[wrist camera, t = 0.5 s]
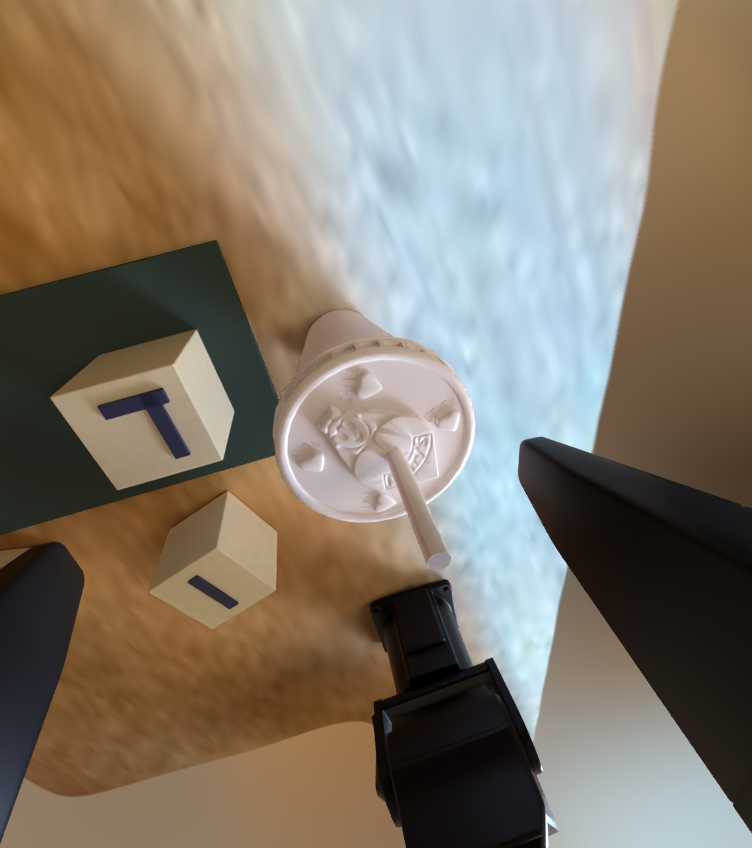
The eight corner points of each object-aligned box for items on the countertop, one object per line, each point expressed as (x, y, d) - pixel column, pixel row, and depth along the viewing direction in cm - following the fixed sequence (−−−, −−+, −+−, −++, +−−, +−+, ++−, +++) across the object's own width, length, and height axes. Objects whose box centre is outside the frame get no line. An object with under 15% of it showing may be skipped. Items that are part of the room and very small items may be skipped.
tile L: (234, 411, 21) (222, 462, 17) (148, 435, 21) (115, 493, 17) (196, 328, 18) (172, 365, 14) (98, 354, 18) (46, 399, 14)
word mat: (296, 445, 23) (296, 449, 23) (-62, 548, 22) (-67, 554, 21) (216, 239, 17) (215, 240, 17) (-274, 365, 16) (-287, 369, 16)
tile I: (277, 532, 26) (276, 593, 22) (222, 567, 26) (211, 632, 22) (228, 489, 24) (216, 549, 20) (169, 529, 24) (145, 595, 20)
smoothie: (358, 420, 23) (438, 666, 11) (254, 366, 20) (208, 612, 8) (426, 326, 21) (614, 500, 9) (320, 252, 18) (387, 358, 6)
